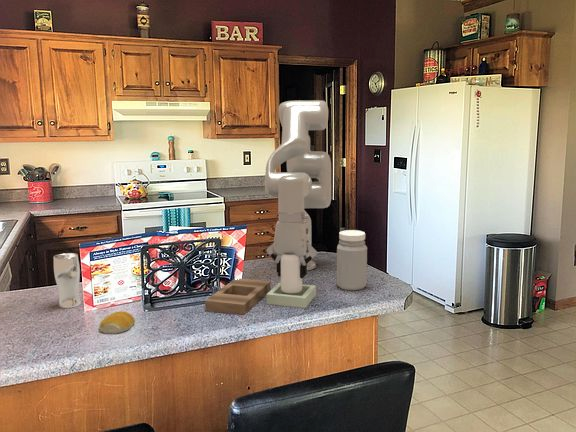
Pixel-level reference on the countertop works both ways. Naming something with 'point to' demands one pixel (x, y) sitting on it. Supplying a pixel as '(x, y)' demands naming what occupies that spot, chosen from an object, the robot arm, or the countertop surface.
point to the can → (290, 274)
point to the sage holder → (291, 296)
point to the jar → (351, 260)
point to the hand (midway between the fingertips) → (291, 275)
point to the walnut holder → (238, 296)
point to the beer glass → (67, 279)
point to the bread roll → (117, 322)
